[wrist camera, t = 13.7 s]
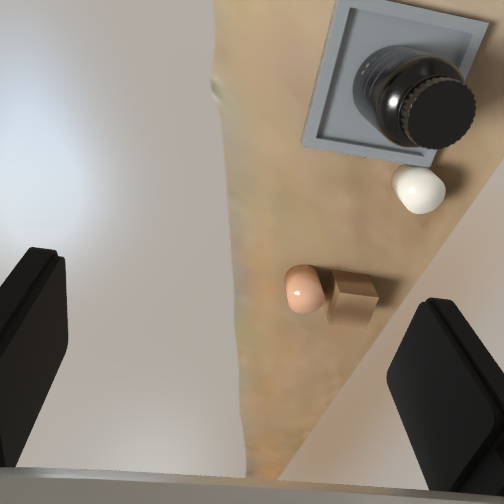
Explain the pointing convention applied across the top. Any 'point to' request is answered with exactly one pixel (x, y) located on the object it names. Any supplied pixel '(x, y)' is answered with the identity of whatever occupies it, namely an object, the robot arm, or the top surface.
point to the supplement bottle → (413, 97)
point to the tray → (353, 55)
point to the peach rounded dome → (304, 289)
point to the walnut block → (349, 299)
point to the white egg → (418, 188)
